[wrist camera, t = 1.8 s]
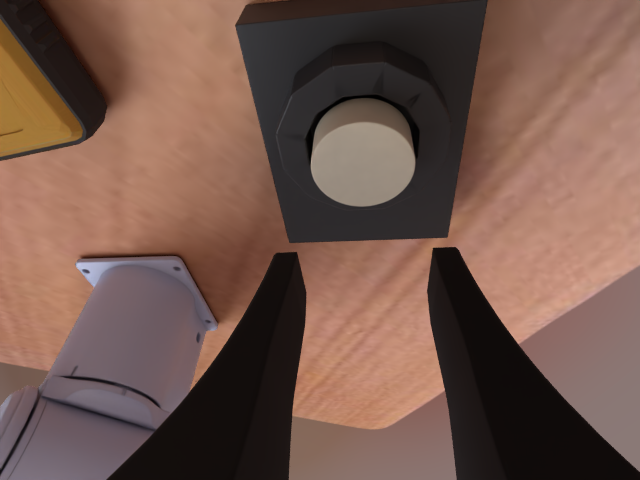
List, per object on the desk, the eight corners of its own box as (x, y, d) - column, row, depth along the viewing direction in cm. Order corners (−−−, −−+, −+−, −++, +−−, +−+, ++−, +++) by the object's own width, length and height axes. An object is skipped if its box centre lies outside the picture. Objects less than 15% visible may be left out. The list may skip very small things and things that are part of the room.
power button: (409, 178, 18) (412, 204, 17) (319, 182, 18) (316, 209, 17) (414, 93, 15) (419, 117, 14) (307, 101, 16) (303, 126, 14)
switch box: (441, 211, 24) (452, 262, 21) (293, 217, 25) (285, 267, 22) (475, -21, 15) (501, 17, 13) (245, 4, 16) (224, 44, 14)
